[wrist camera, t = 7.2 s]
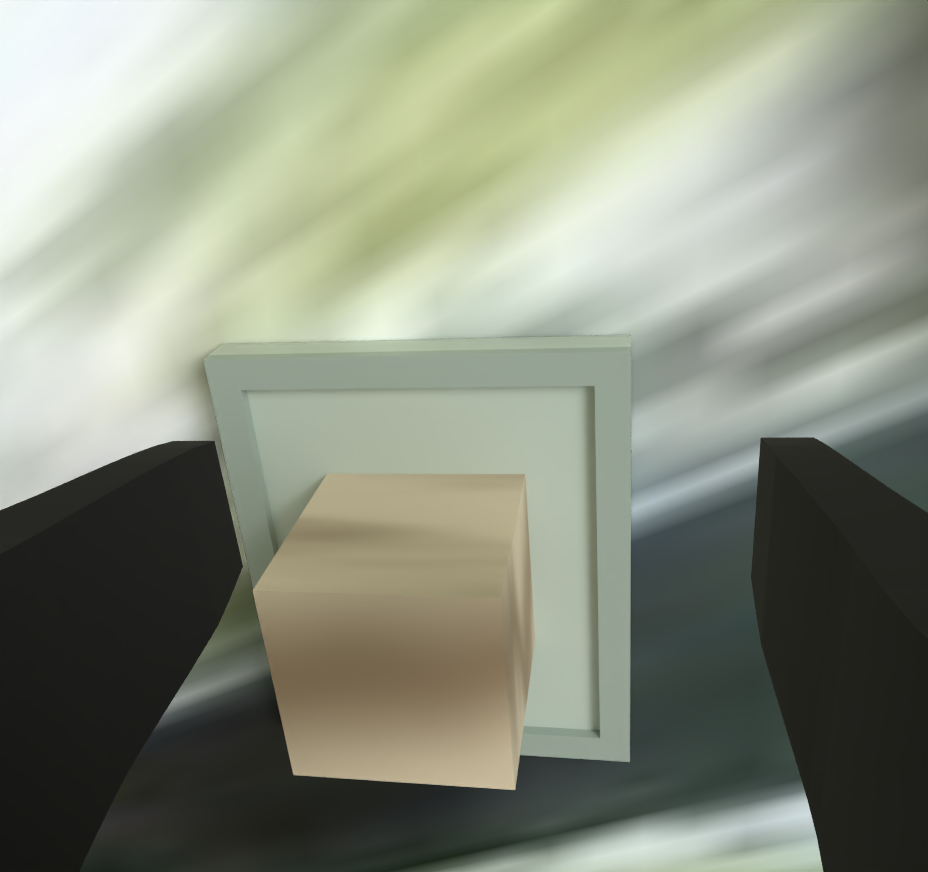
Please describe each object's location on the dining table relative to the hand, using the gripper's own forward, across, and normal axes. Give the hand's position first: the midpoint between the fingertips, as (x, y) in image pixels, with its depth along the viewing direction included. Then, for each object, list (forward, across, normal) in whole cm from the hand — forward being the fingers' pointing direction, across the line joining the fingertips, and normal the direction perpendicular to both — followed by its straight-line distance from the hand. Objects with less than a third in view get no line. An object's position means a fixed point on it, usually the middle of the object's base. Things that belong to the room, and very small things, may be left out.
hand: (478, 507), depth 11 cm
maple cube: (+9, +3, +7) cm, 11 cm away
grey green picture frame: (+9, +3, +7) cm, 12 cm away
